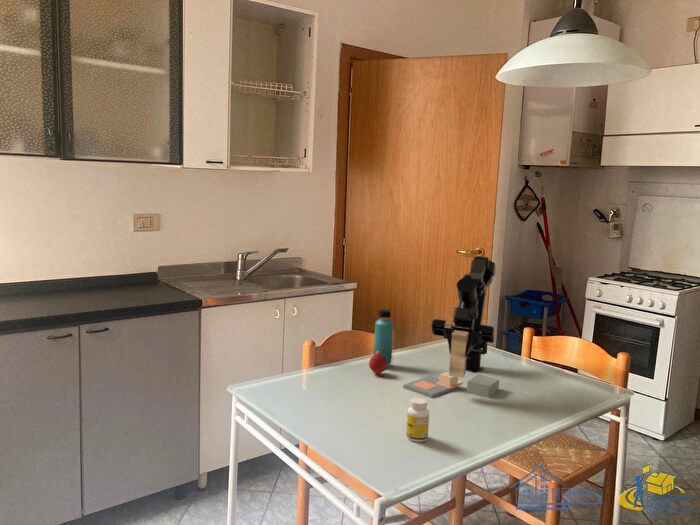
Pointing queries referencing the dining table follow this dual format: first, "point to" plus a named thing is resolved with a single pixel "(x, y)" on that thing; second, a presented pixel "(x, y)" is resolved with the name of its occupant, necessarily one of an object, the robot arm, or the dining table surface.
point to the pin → (458, 354)
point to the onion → (378, 363)
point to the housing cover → (483, 385)
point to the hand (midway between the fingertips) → (457, 354)
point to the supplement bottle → (418, 420)
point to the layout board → (433, 385)
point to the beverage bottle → (384, 336)
